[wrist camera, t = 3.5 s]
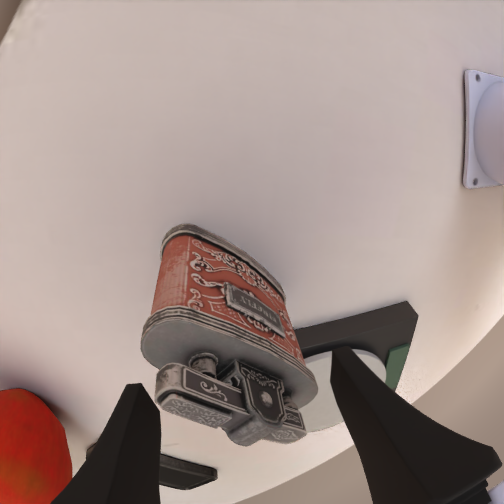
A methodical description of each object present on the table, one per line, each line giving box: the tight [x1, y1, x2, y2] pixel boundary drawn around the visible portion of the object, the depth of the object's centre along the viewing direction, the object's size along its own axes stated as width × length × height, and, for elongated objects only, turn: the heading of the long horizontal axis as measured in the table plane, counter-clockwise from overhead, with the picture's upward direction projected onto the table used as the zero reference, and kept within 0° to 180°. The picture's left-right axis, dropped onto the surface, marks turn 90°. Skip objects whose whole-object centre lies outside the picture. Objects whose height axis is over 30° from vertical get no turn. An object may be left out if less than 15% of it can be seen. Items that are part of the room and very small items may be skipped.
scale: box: [294, 301, 418, 433], centre depth 22 cm, size 13×11×3 cm
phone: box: [86, 444, 218, 490], centre depth 29 cm, size 8×1×15 cm
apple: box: [0, 388, 72, 504], centre depth 16 cm, size 12×12×14 cm
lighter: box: [141, 224, 318, 446], centre depth 13 cm, size 8×3×10 cm, turn 48°
